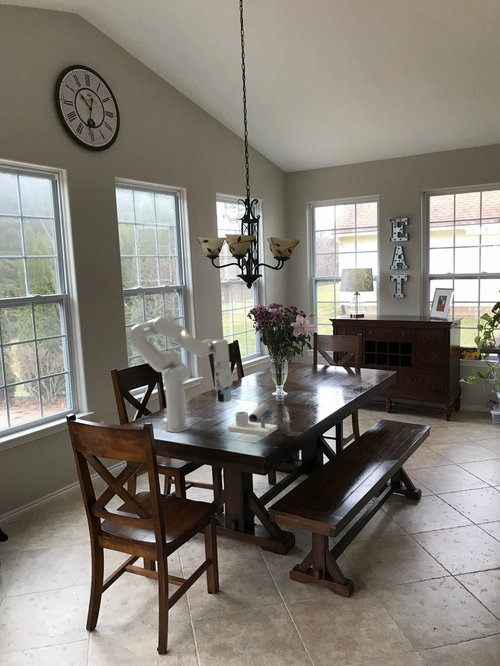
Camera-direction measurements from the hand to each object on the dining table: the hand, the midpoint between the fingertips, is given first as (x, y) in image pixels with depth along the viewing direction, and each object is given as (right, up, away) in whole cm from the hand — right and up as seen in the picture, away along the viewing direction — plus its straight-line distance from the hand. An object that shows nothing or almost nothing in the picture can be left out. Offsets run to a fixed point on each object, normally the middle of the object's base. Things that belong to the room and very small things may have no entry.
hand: (224, 399), depth 271 cm
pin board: (+14, -16, +2) cm, 21 cm away
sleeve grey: (+9, -13, +5) cm, 17 cm away
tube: (+18, -13, +26) cm, 34 cm away
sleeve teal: (0, -1, 0) cm, 1 cm away
